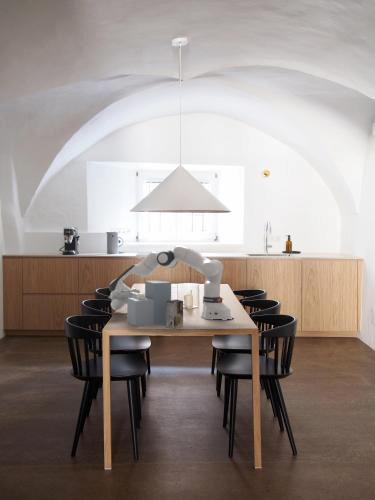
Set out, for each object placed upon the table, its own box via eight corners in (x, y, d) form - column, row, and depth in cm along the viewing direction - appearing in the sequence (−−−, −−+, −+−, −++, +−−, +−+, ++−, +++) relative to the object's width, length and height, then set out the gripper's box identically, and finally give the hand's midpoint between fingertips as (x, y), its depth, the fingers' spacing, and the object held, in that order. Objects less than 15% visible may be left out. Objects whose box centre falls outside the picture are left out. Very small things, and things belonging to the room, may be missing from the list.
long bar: (145, 299, 304) (145, 294, 304) (140, 300, 302) (140, 294, 302) (133, 295, 322) (133, 290, 322) (128, 295, 320) (128, 290, 320)
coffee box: (175, 324, 305) (175, 299, 304) (183, 326, 301) (183, 300, 300) (165, 327, 298) (166, 300, 297) (173, 328, 293) (174, 301, 293)
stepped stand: (127, 322, 311) (127, 281, 310) (161, 319, 322) (162, 280, 321) (135, 326, 298) (135, 283, 297) (170, 323, 310) (171, 282, 308)
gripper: (107, 294, 332) (113, 286, 321) (135, 292, 341) (141, 285, 331) (108, 302, 329) (114, 295, 318) (136, 301, 339) (143, 293, 328)
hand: (128, 289), depth 325 cm, fingers open, 8 cm apart
